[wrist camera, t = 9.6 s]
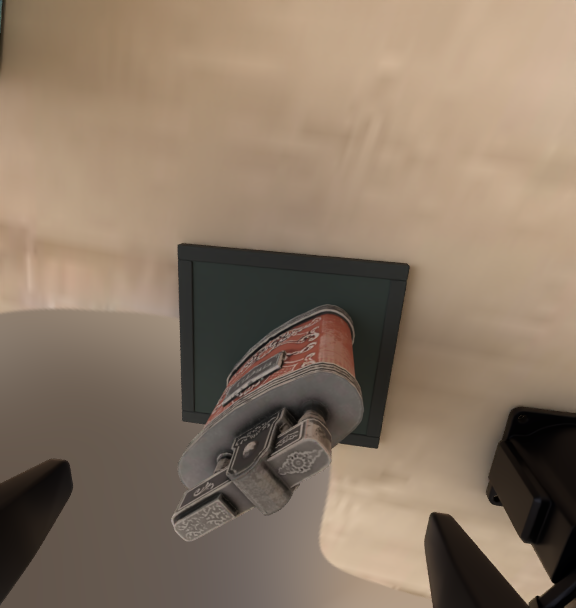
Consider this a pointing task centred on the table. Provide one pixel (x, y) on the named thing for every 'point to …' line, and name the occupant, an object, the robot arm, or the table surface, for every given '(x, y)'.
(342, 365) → the lighter
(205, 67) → the table surface
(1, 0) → the data package
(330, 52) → the table surface
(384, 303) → the desk mat
